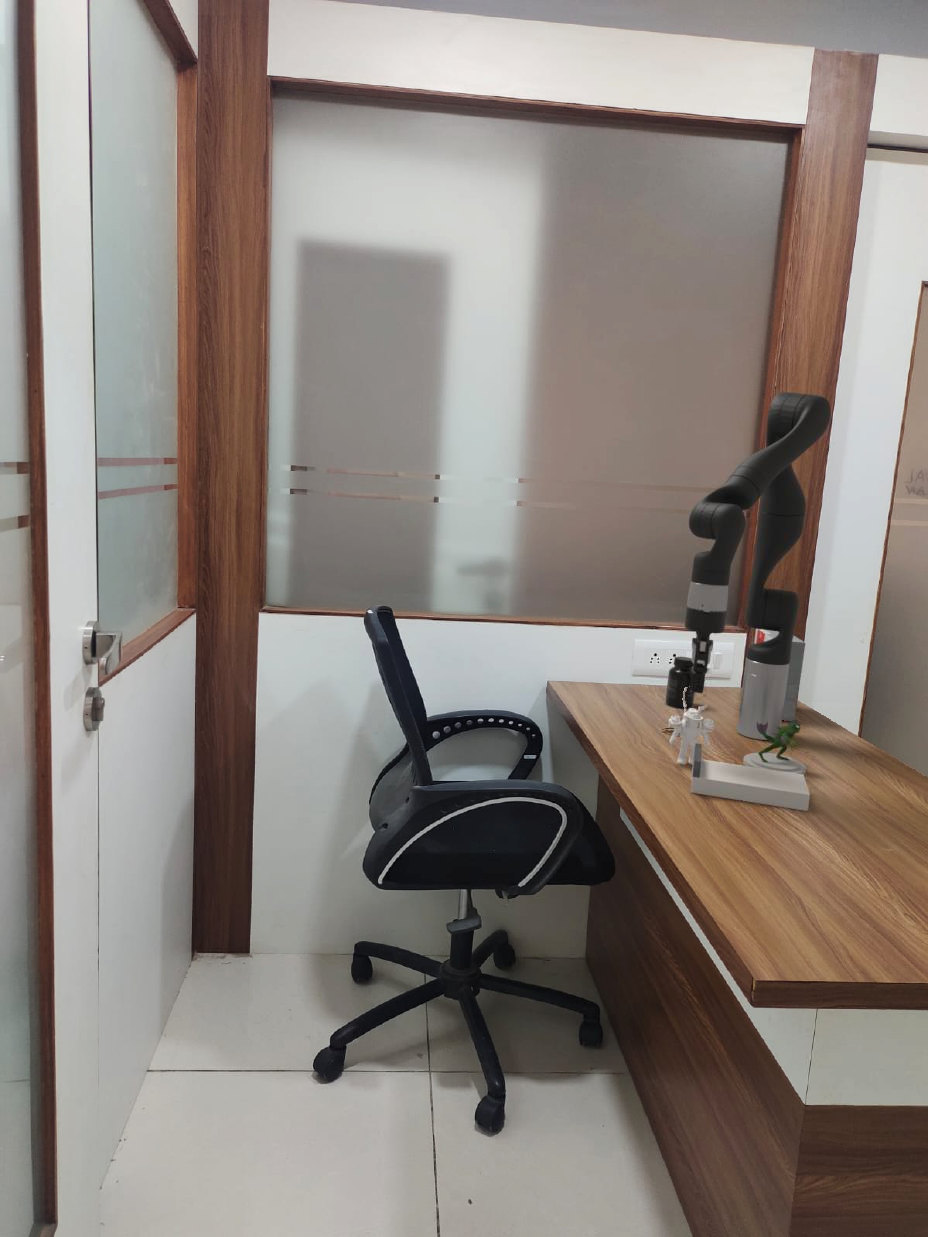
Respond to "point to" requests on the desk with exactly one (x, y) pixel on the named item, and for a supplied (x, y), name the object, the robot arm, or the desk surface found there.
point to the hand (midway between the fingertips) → (697, 687)
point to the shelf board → (751, 785)
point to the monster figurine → (778, 760)
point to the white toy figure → (690, 732)
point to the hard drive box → (793, 671)
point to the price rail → (697, 760)
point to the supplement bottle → (680, 683)
